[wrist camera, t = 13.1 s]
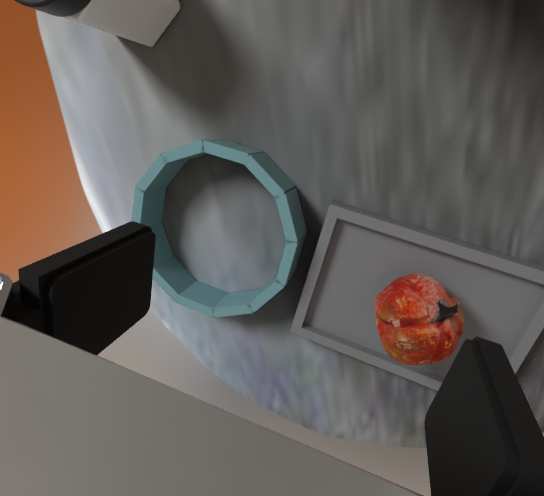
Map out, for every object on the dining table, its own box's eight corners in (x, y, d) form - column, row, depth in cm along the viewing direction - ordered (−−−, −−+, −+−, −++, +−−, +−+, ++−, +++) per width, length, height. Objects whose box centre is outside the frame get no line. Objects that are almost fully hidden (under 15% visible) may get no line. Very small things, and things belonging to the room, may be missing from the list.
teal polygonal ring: (166, 122, 38) (142, 121, 34) (325, 169, 34) (317, 174, 31) (147, 269, 44) (125, 281, 40) (280, 321, 40) (269, 340, 37)
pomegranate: (416, 337, 38) (513, 333, 29) (370, 380, 34) (464, 391, 25) (380, 273, 38) (465, 250, 29) (330, 310, 34) (410, 296, 25)
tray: (333, 200, 35) (329, 204, 33) (561, 271, 31) (572, 280, 29) (294, 322, 40) (289, 332, 38) (486, 398, 36) (491, 412, 34)
